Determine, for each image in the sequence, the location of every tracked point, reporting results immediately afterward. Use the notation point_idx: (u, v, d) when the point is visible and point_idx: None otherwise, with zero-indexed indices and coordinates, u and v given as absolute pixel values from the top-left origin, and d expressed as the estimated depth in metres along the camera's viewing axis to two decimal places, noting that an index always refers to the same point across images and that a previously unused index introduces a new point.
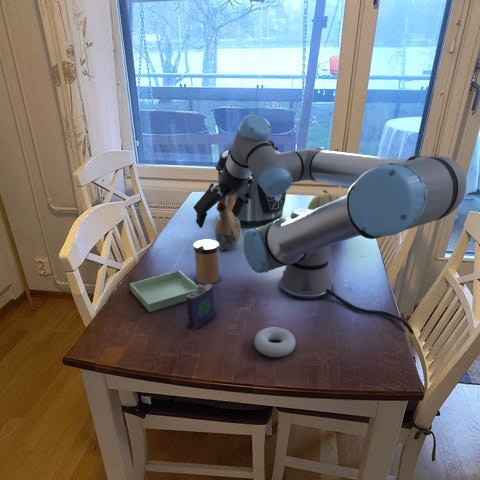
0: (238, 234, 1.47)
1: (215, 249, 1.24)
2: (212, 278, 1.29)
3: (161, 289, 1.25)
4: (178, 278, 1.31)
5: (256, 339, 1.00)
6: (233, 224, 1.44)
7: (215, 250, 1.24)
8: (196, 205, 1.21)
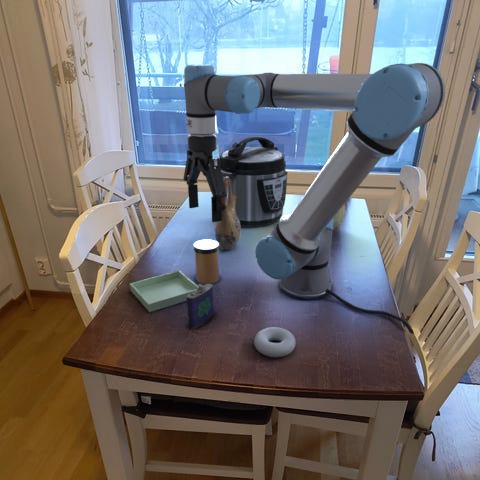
0: (238, 234, 1.47)
1: (215, 249, 1.24)
2: (212, 278, 1.29)
3: (161, 289, 1.25)
4: (178, 278, 1.31)
5: (256, 339, 1.00)
6: (233, 224, 1.44)
7: (215, 250, 1.24)
8: (219, 191, 1.09)
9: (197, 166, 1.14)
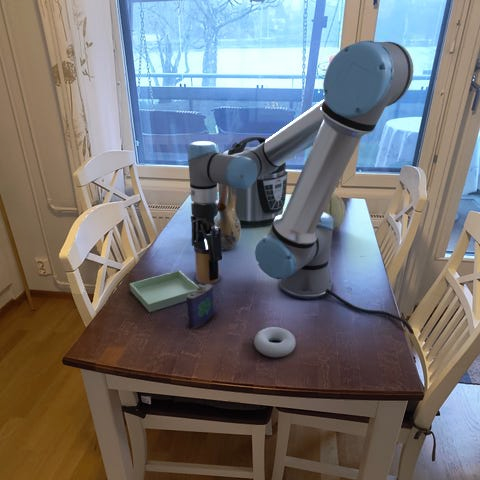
0: (238, 234, 1.47)
1: None
2: None
3: (161, 289, 1.25)
4: (178, 278, 1.31)
5: (256, 339, 1.00)
6: (233, 224, 1.44)
7: None
8: (216, 256, 1.21)
9: (200, 228, 1.24)
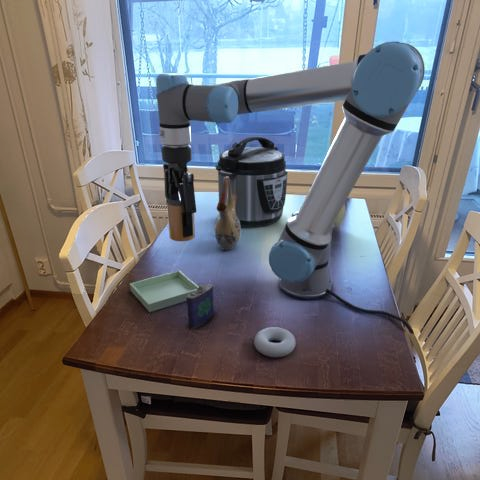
0: (238, 234, 1.47)
1: None
2: None
3: (161, 289, 1.25)
4: (178, 278, 1.31)
5: (256, 339, 1.00)
6: (233, 224, 1.44)
7: None
8: (189, 208, 1.09)
9: (172, 177, 1.11)
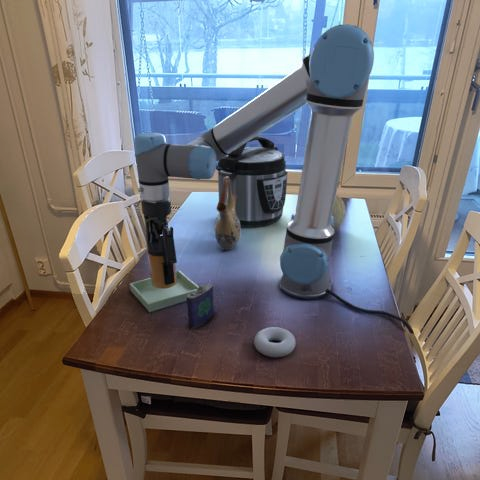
0: (238, 234, 1.47)
1: None
2: None
3: (161, 289, 1.25)
4: (178, 278, 1.31)
5: (256, 339, 1.00)
6: (233, 224, 1.44)
7: None
8: (169, 259, 1.11)
9: (153, 228, 1.14)
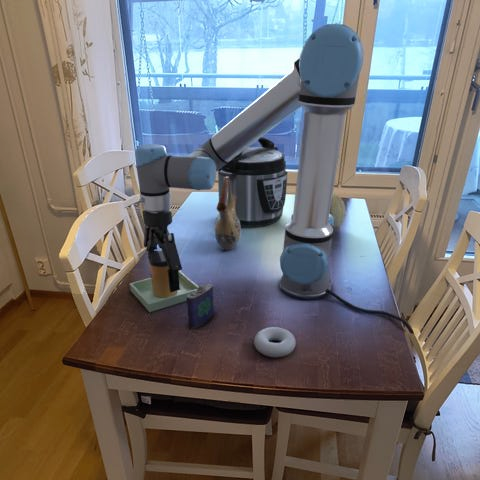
0: (238, 234, 1.47)
1: None
2: (169, 292, 1.21)
3: None
4: None
5: (256, 339, 1.00)
6: (233, 224, 1.44)
7: None
8: (174, 265, 1.10)
9: (154, 237, 1.15)
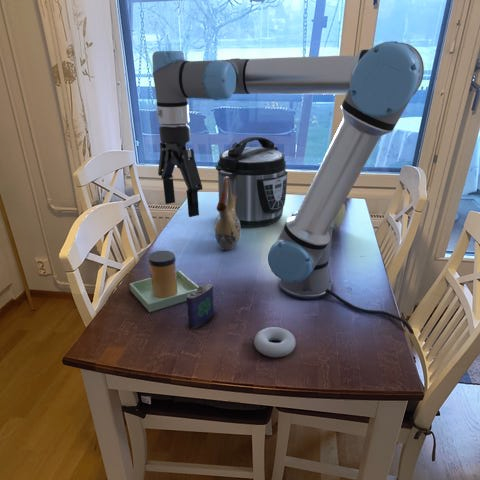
0: (238, 234, 1.47)
1: (170, 261, 1.16)
2: (169, 292, 1.21)
3: None
4: (178, 278, 1.31)
5: (256, 339, 1.00)
6: (233, 224, 1.44)
7: (170, 262, 1.16)
8: (194, 184, 1.04)
9: (171, 159, 1.09)
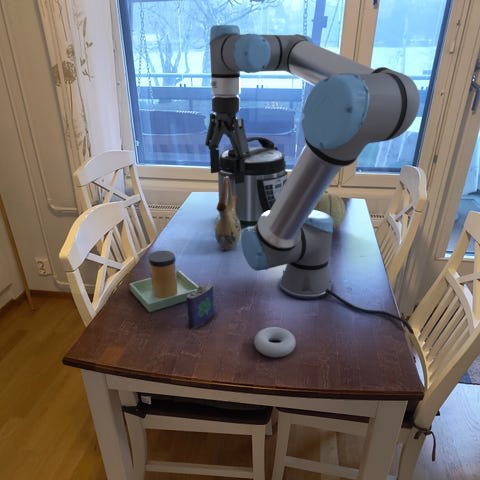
0: (238, 234, 1.47)
1: (170, 261, 1.16)
2: (169, 292, 1.21)
3: None
4: (178, 278, 1.31)
5: (256, 339, 1.00)
6: (233, 224, 1.44)
7: (170, 262, 1.16)
8: (243, 151, 1.12)
9: (220, 129, 1.17)
